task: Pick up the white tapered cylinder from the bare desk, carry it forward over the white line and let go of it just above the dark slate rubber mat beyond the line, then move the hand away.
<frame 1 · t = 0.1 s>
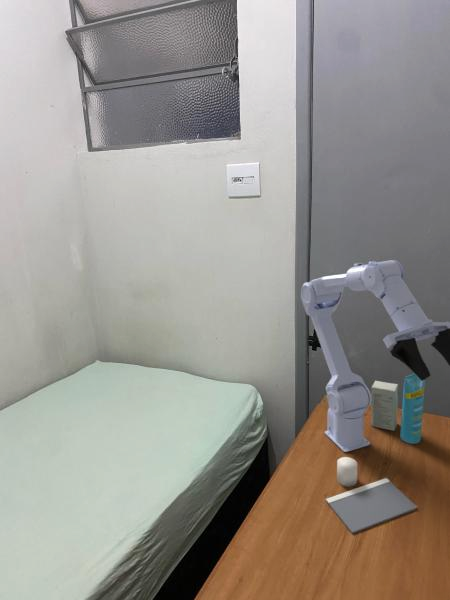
hand: (443, 373, 74), 32 cm above the table, tool tilted 50°, fingers open, 7 cm apart
skincare box: (383, 425, 114), on the table
tube: (410, 439, 107), on the table
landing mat: (370, 504, 87), on the table
white tapered cylinder: (346, 479, 94), on the table
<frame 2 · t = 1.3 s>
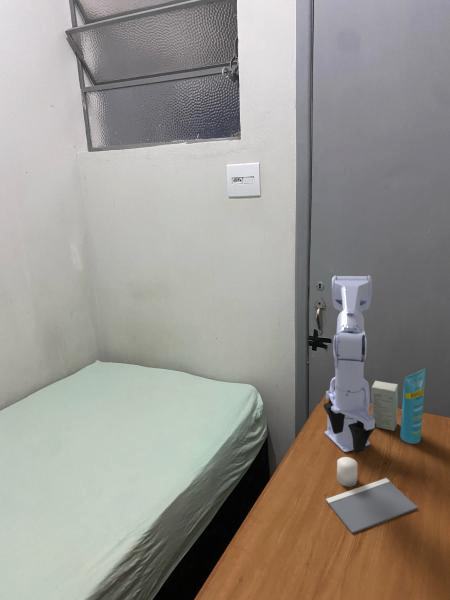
hand: (348, 441, 91), 11 cm above the table, tool pointing down, fingers open, 7 cm apart
nothing on the table moved.
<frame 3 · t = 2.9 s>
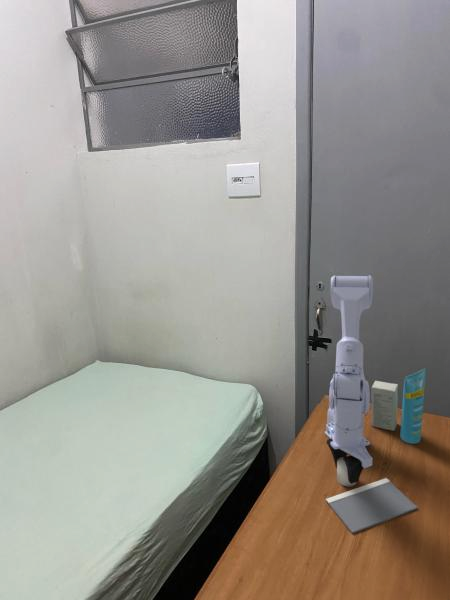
hand: (347, 474, 94), 1 cm above the table, tool pointing down, fingers closed on white tapered cylinder, 4 cm apart
white tapered cylinder: (346, 479, 94), on the table, touching gripper
everything else where it was.
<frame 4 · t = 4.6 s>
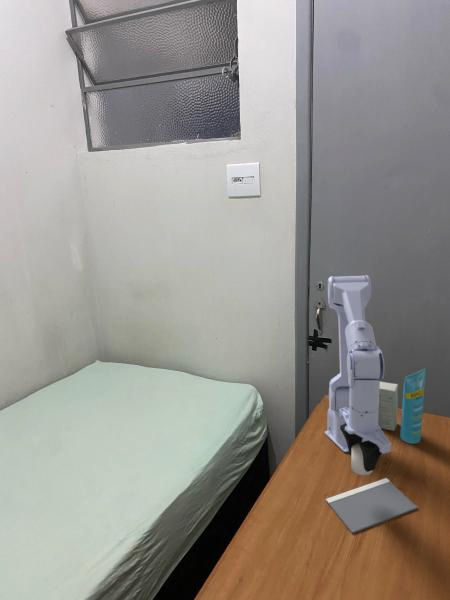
hand: (362, 462, 87), 9 cm above the table, tool pointing down, fingers closed on white tapered cylinder, 4 cm apart
white tapered cylinder: (361, 468, 87), point 7 cm above the table, touching gripper
everything else where it was.
when the fingers open (3 cm above the table, at t = 6.3 s): white tapered cylinder drops 2 cm, resting on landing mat.
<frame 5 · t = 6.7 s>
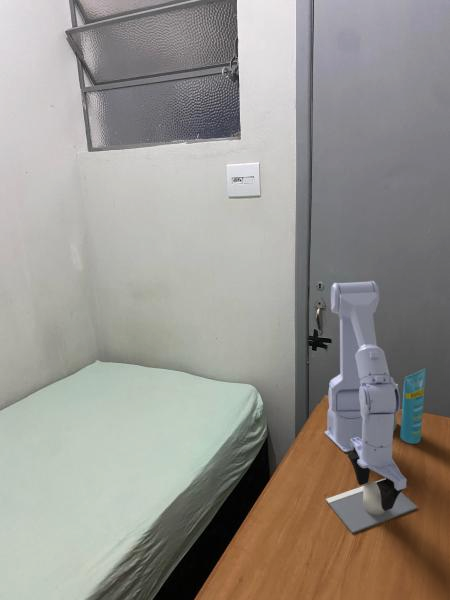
hand: (374, 495, 85), 3 cm above the table, tool pointing down, fingers open, 7 cm apart
white tapered cylinder: (374, 507, 85), resting on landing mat
everything else where it was.
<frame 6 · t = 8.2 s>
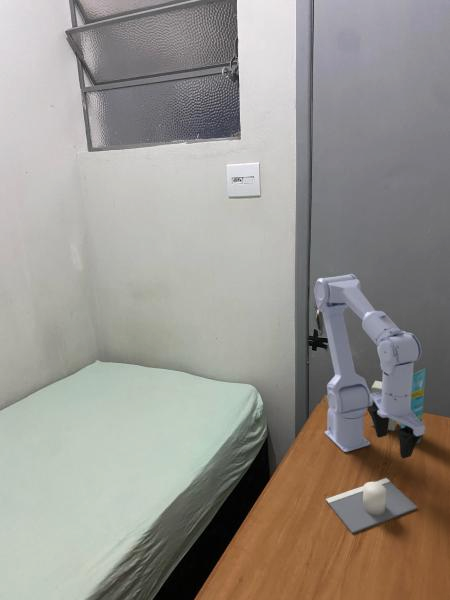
hand: (393, 445, 89), 10 cm above the table, tool pointing down, fingers open, 7 cm apart
nothing on the table moved.
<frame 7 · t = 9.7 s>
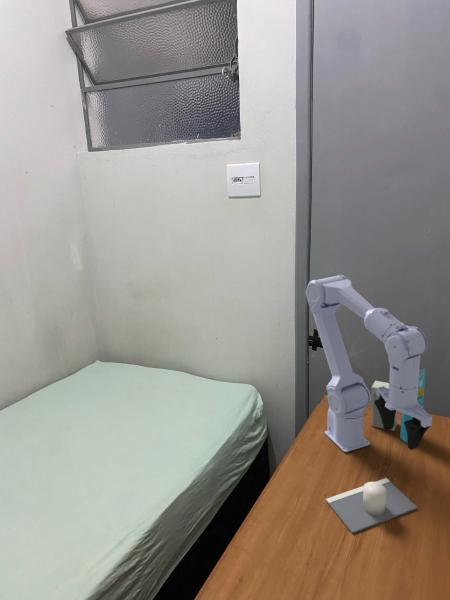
hand: (400, 438, 91), 10 cm above the table, tool pointing down, fingers open, 7 cm apart
nothing on the table moved.
at the end: white tapered cylinder inside the target area (0.8 cm from its centre), resting on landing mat; white tapered cylinder tilted 0°; the gripper is holding nothing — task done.
